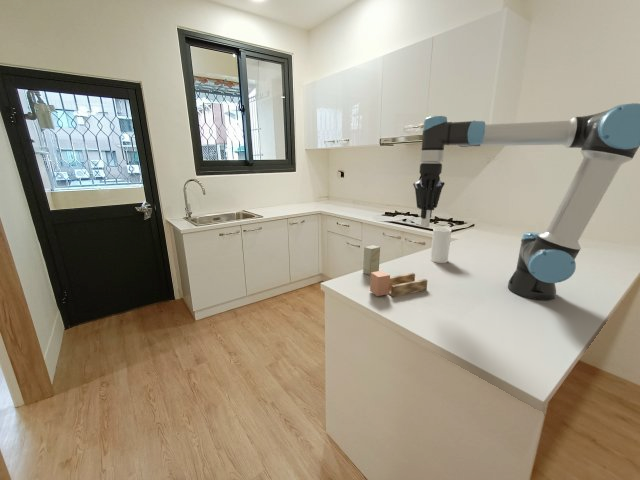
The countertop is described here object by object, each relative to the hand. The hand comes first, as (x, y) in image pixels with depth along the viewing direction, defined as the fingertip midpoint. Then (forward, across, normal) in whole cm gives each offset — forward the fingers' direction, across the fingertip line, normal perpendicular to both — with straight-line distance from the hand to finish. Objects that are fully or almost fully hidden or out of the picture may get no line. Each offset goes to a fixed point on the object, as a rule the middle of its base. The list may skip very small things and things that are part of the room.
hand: (425, 226), depth 112 cm
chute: (+24, +8, 0) cm, 26 cm away
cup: (+25, -31, -21) cm, 45 cm away
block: (+24, +19, 0) cm, 31 cm away
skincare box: (+25, +10, -20) cm, 33 cm away
